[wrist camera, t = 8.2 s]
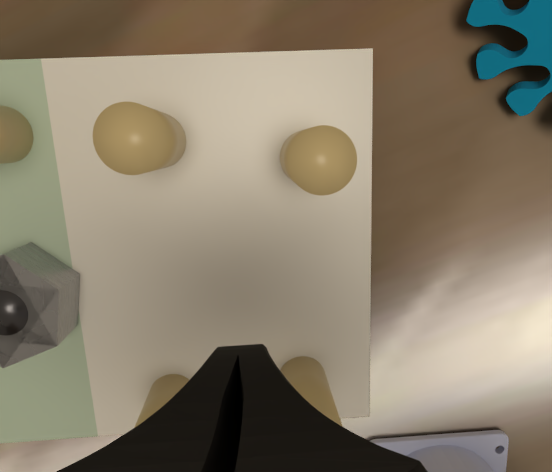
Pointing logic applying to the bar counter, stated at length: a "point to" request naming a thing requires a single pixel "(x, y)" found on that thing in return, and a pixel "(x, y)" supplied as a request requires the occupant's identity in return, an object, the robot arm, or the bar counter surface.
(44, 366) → the tray
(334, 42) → the bar counter surface
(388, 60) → the bar counter surface
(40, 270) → the nut
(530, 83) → the gear
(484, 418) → the bar counter surface
